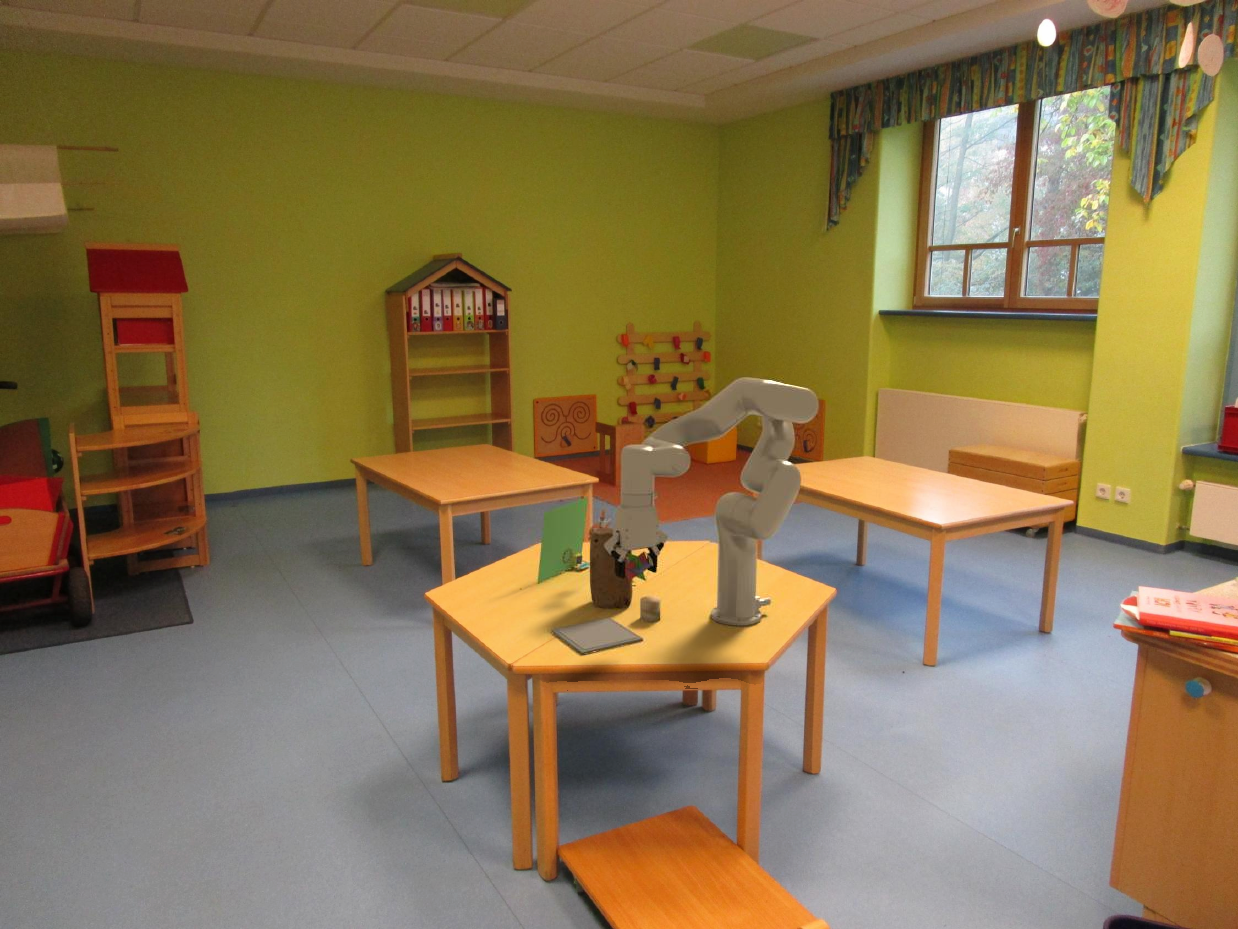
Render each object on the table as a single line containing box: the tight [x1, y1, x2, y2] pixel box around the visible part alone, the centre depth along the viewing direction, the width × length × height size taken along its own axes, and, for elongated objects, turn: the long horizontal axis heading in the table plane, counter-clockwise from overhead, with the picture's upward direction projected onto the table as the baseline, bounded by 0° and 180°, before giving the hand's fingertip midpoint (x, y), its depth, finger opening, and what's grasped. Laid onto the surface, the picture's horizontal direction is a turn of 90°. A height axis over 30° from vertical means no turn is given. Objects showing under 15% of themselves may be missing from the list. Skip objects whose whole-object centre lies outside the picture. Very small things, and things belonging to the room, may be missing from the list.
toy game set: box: [537, 496, 637, 585], centre depth 245 cm, size 22×25×24 cm
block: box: [589, 527, 633, 609], centre depth 227 cm, size 11×8×20 cm
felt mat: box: [550, 616, 644, 655], centre depth 208 cm, size 16×16×1 cm
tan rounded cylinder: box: [639, 595, 662, 624], centre depth 218 cm, size 5×5×5 cm
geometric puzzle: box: [623, 551, 653, 582], centre depth 202 cm, size 7×7×8 cm
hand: (636, 573), depth 202 cm, fingers closed on geometric puzzle, 8 cm apart
